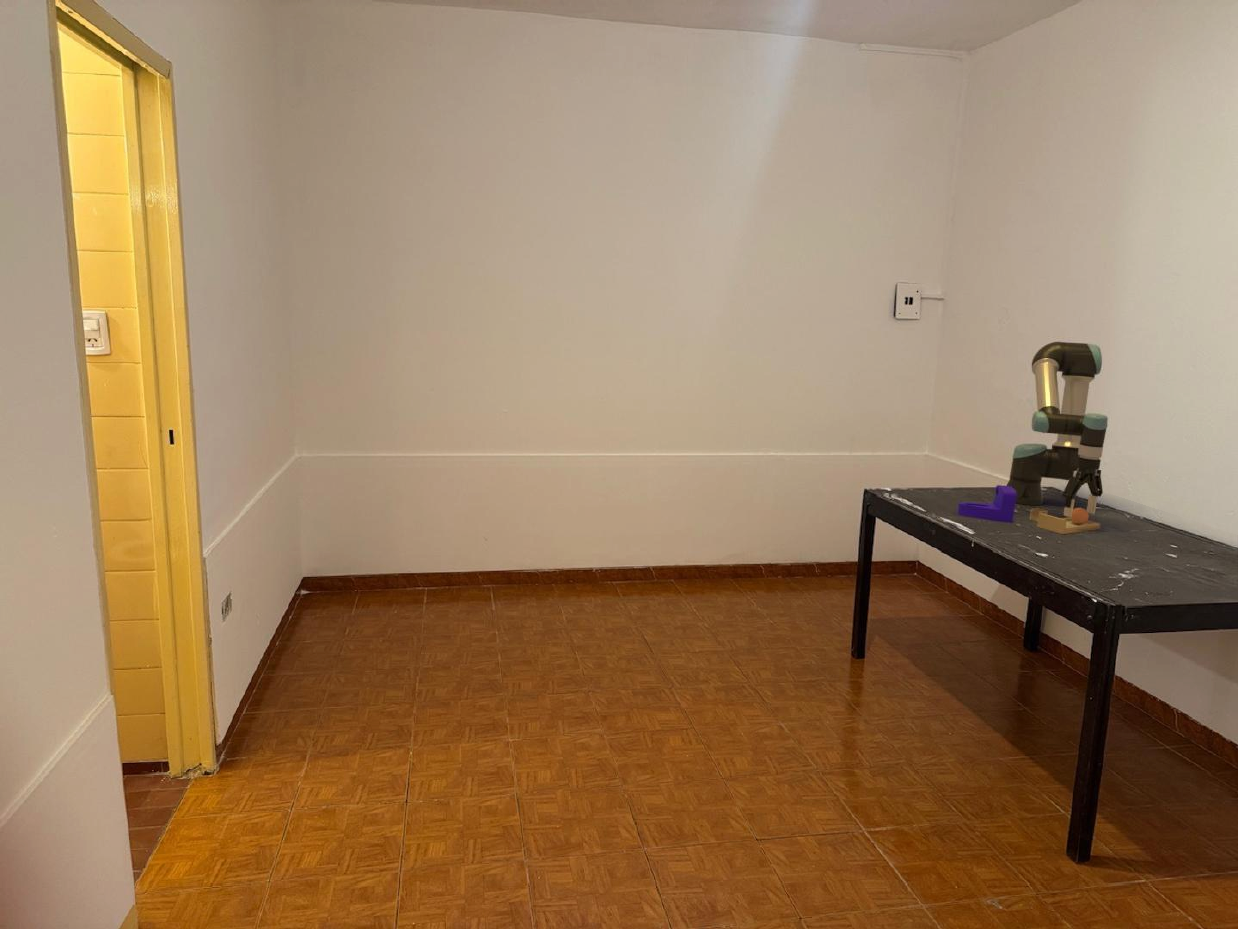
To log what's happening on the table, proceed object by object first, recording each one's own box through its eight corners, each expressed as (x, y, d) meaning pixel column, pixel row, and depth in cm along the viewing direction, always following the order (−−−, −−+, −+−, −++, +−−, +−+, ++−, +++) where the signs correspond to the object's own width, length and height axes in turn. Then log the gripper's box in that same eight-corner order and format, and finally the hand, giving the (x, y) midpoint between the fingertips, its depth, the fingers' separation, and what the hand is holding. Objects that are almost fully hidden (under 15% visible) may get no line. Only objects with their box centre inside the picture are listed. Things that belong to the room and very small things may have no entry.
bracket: (1004, 515, 324) (1009, 485, 322) (1012, 523, 314) (1017, 491, 311) (954, 510, 327) (958, 480, 325) (960, 517, 317) (964, 486, 314)
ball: (1075, 521, 317) (1077, 505, 316) (1090, 525, 312) (1093, 509, 311) (1064, 522, 314) (1067, 506, 313) (1080, 526, 309) (1083, 510, 308)
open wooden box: (1036, 518, 322) (1037, 508, 321) (1046, 521, 319) (1047, 510, 318) (1029, 519, 320) (1031, 509, 319) (1039, 522, 317) (1040, 511, 316)
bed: (1073, 522, 320) (1075, 508, 319) (1099, 529, 312) (1101, 515, 311) (1036, 526, 310) (1039, 513, 309) (1062, 534, 301) (1065, 520, 300)
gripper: (1099, 453, 318) (1090, 509, 322) (1057, 456, 305) (1048, 514, 310) (1119, 457, 311) (1109, 514, 316) (1077, 461, 299) (1067, 520, 304)
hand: (1079, 514), depth 313 cm, fingers open, 13 cm apart
